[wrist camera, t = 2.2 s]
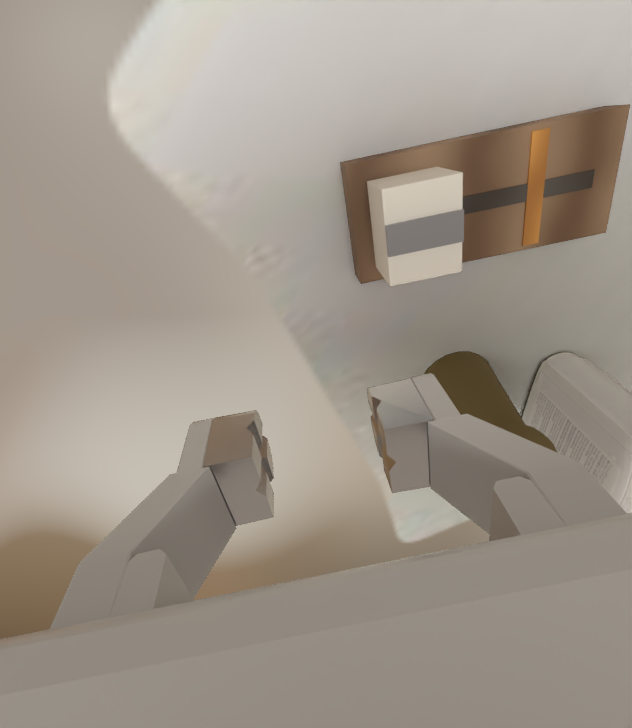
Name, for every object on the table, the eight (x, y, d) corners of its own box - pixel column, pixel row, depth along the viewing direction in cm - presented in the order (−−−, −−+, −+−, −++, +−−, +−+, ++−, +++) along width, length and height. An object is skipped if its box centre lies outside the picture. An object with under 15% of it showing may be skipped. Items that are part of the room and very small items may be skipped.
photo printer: (551, 444, 38) (660, 567, 27) (508, 448, 38) (601, 573, 27) (587, 348, 33) (739, 454, 22) (537, 351, 32) (667, 460, 22)
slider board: (604, 106, 24) (631, 104, 22) (584, 225, 27) (607, 232, 26) (340, 162, 24) (345, 165, 22) (355, 274, 28) (361, 284, 26)
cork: (434, 346, 31) (505, 441, 22) (503, 356, 32) (599, 451, 23) (409, 408, 34) (463, 516, 25) (474, 416, 35) (548, 522, 26)
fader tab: (437, 166, 22) (464, 172, 19) (439, 254, 25) (463, 272, 22) (366, 181, 22) (382, 190, 19) (375, 267, 25) (391, 287, 22)
